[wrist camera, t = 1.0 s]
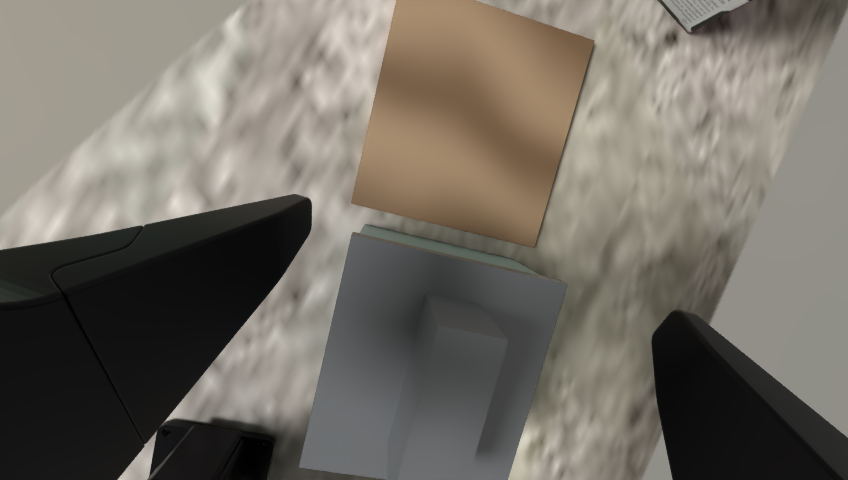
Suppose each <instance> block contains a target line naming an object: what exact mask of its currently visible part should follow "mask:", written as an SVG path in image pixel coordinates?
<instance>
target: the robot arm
mask: <svg viewBox="0 0 848 480" xmlns="http://www.w3.org/2000/svg"><path fill="white" fill-rule="evenodd" d="M311 226H312V203H311V200H310V199H309V198H307V197H304V196H300V195H297V194H292V195H287V196H282V197H278V198H273V199H268V200H263V201H258V202H253V203H248V204H243V205H239V206H234V207H229V208H224V209H219V210H214V211H209V212H204V213H200V214H195V215H190V216H185V217H180V218H175V219H170V220H165V221H160V222H156V223H151V224H146V225H145V226H144V227H143V226H136V227H131V228H126V229H121V230H116V231H111V232H105V233H100V234H95V235H90V236H84V237H78V238H72V239H66V240H60V241H54V242H48V243H41V244H35V245H29V246H22V247H16V248H10V249H3V250H0V480H117V479H118V478H119V477H120V476H121V475H122V473H123V472H124V471H125V470H126V468H127V467H128V466H129V465H130V464H131V462H132V461H133V460H134V459H135V457H136V456H137V455H138V454H139V453H140V451H141V450H142V449H143V448H144V444H146V443H147V442H148V441H149V440H150V439H151V437H152V436H153V435H154V434H155V432H156V431H157V430H158V431H157V435H156V441H155V446H154V452H153V458H152V464H151V470H150V475H149V478H148V479H147V480H268V477H269V472H270V468H271V463H272V458H273V454H274V449H275V444H276V441H275V439H274V437H272V436H270V435H265V434H258V433H252V432H245V431H238V430H232V429H225V428H218V427H211V426H205V425H198V424H191V423H185V422H178V421H166V422H164V421H165V420H166V419H167V418H168V417H169V415H170V414H171V413H172V412H173V410H174V409H175V408H176V407H177V405H178V404H179V403H180V402H181V401H182V399H183V398H184V397H185V396H186V394H187V393H188V392H189V391H190V390H191V388H192V387H193V386H194V385H195V383H196V382H197V381H198V380H199V379H200V377H201V376H202V375H203V374H204V372H205V371H206V370H207V369H208V367H209V366H210V365H211V364H212V363H213V361H214V360H215V359H216V358H217V356H218V355H219V354H220V353H221V352H222V350H223V349H224V348H225V347H226V345H227V344H228V343H229V342H230V341H231V339H232V338H233V337H234V336H235V334H236V333H237V332H238V331H239V329H240V328H241V327H242V326H243V325H244V323H245V322H246V321H247V320H248V318H249V317H250V316H251V315H252V314H253V312H254V311H255V310H256V309H257V307H258V306H259V305H260V304H261V303H262V301H263V300H264V299H265V298H266V296H267V295H268V294H269V293H270V291H271V290H272V289H273V288H274V287H275V285H276V284H277V283H278V281H279V280H280V279H281V277H282V276H283V275H284V273H285V272H286V270H287V268H288V267H289V265H290V264H291V262H292V261H293V259H294V257H295V256H296V254H297V253H298V251H299V250H300V248H301V246H302V245H303V243H304V242H305V240H306V239H307V237H308V235H309V233H310V231H311ZM652 354H653V366H654V377H655V389H656V398H657V405H658V410H659V416H660V421H661V425H662V430H663V435H664V440H665V445H666V450H667V455H668V459H669V464H670V469H671V474H672V479H673V480H848V438H847V437H846V436H845V435H844V434H842V433H841V432H840V431H838V430H837V429H836V428H835V427H834V426H833V425H831V424H830V423H829V422H828V421H826V420H825V419H824V418H823V417H821V416H820V415H819V414H818V413H817V412H815V411H814V410H813V409H812V408H810V407H809V406H808V405H807V404H805V403H804V402H803V401H802V400H800V399H799V398H798V397H797V396H795V395H794V394H793V393H792V392H791V391H789V390H788V389H787V388H786V387H785V386H783V385H782V384H781V383H780V382H778V381H777V380H776V379H775V378H773V377H772V376H771V375H770V374H768V373H767V372H766V371H765V370H764V369H762V368H761V367H760V366H759V365H757V364H756V363H755V362H753V360H751V359H750V358H749V357H748V356H746V355H745V354H744V353H743V352H741V351H740V350H739V349H738V348H736V347H735V346H734V345H733V344H732V343H730V342H729V341H728V340H727V339H725V338H724V337H723V336H722V335H721V334H719V333H718V332H717V331H715V330H714V329H713V328H712V327H711V326H709V325H708V324H707V323H706V322H704V321H703V320H702V319H701V318H700V317H698V316H697V315H695V314H692V313H689V312H685V311H682V310H674V311H672V312H671V313H670V314H669V315H668V316H667V317H666V319H665V320H664V321H663V322H662V323H661V325H660V326H659V327H658V328H657V329H656V331H655V332H654V334H653V336H652ZM166 429H169V430H170V431H171V432H168V431H167V430H166ZM264 443H266V444H268V445H269V446H264V445H263V444H264Z"/></svg>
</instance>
